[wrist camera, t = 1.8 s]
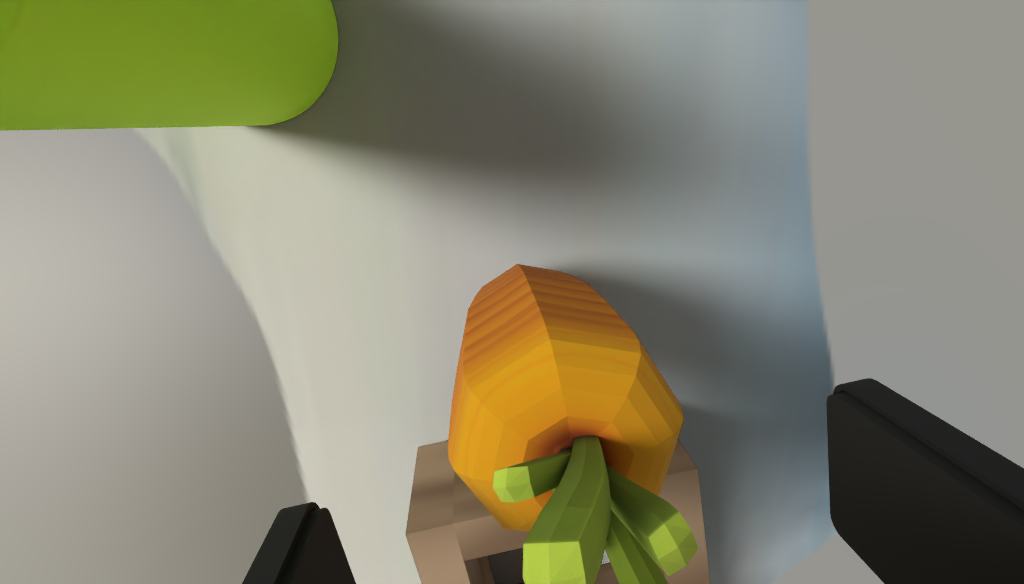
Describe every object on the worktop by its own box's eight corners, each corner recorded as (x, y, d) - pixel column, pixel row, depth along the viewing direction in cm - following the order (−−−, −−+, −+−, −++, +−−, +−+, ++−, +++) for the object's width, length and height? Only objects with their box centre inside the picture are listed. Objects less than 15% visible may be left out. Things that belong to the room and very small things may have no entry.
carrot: (589, 331, 22) (835, 742, 7) (469, 357, 21) (478, 825, 7) (570, 210, 20) (835, 433, 6) (440, 238, 20) (378, 534, 6)
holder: (417, 447, 22) (405, 534, 18) (649, 395, 23) (698, 468, 18) (470, 621, 26) (472, 735, 21) (673, 575, 26) (720, 677, 21)
